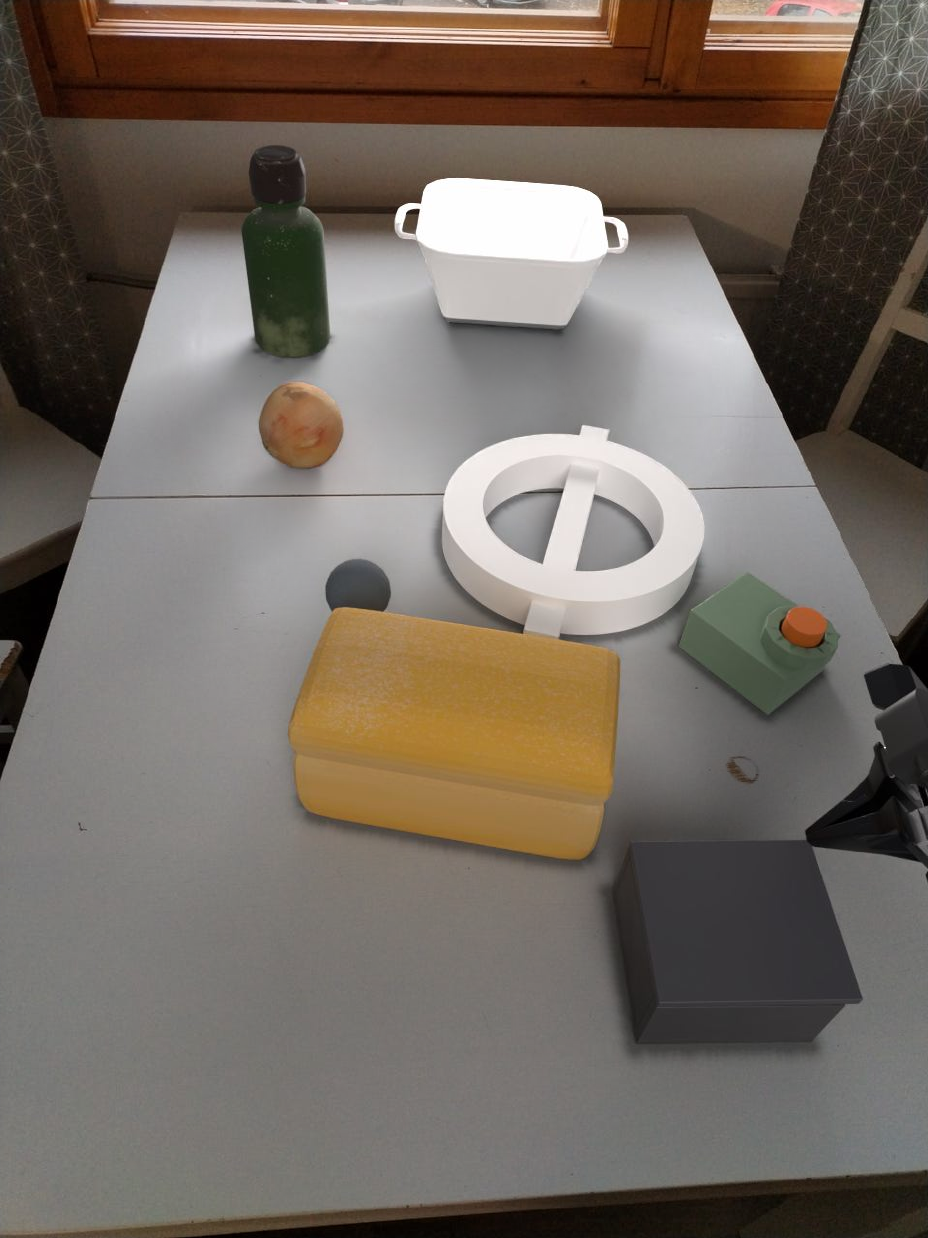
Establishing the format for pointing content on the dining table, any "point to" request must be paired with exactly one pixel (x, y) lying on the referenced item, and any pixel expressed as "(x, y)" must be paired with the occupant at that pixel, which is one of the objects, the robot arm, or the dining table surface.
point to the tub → (510, 249)
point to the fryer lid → (739, 924)
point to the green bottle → (285, 258)
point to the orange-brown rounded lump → (300, 425)
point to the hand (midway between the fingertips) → (808, 839)
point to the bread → (457, 732)
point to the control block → (754, 643)
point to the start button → (804, 627)
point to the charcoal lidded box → (699, 1021)
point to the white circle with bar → (571, 534)
